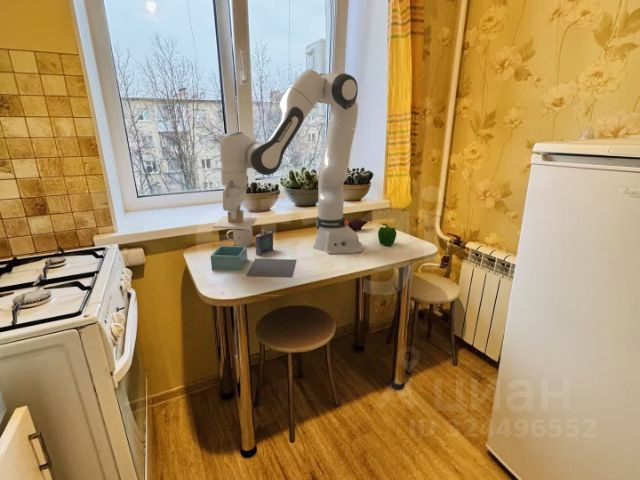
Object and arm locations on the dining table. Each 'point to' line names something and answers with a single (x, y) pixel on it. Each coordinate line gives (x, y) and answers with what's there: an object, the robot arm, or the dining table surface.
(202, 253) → the dining table surface
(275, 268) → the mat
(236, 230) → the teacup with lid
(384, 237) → the bell pepper
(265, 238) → the flask
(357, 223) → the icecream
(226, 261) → the teal open box
